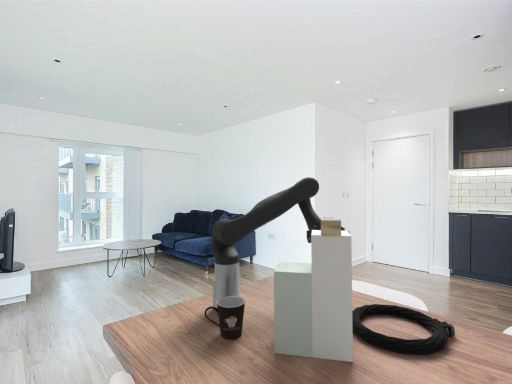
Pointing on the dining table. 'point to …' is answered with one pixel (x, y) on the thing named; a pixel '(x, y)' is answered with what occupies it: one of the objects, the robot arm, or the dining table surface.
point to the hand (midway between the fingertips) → (328, 228)
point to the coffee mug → (229, 316)
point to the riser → (316, 301)
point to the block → (330, 227)
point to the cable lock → (398, 344)
